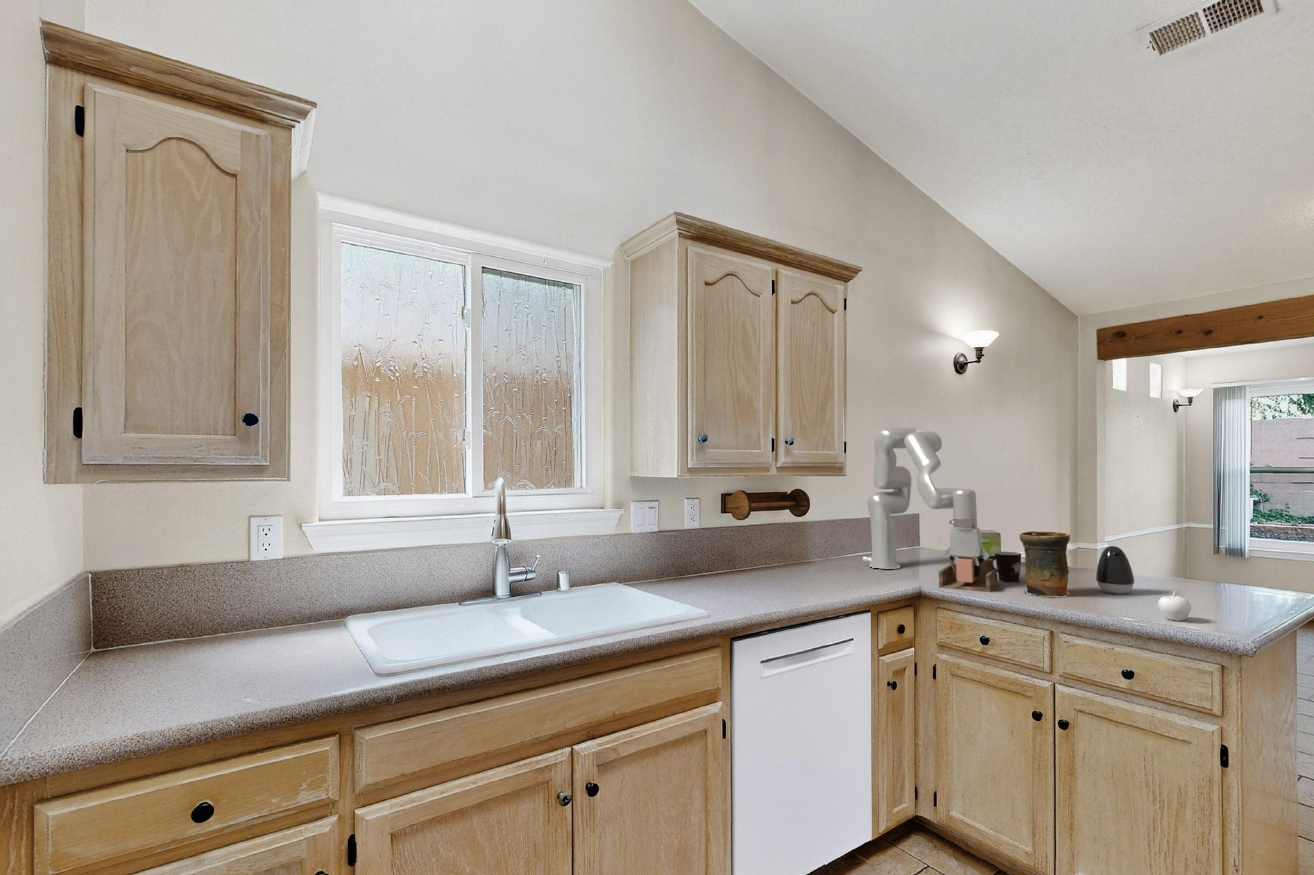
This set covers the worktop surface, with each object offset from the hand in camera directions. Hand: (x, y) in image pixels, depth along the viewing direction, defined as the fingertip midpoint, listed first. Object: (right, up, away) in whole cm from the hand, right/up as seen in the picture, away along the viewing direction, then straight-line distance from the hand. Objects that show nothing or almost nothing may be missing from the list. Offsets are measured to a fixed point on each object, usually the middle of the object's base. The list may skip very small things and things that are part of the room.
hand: (967, 575), depth 224 cm
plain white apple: (+32, -1, -51) cm, 60 cm away
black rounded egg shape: (+41, -2, -17) cm, 44 cm away
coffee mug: (+17, -4, +7) cm, 19 cm away
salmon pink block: (0, -2, 0) cm, 2 cm away
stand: (0, -4, 0) cm, 4 cm away
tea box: (+24, -5, +39) cm, 46 cm away
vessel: (+19, -3, -15) cm, 24 cm away
